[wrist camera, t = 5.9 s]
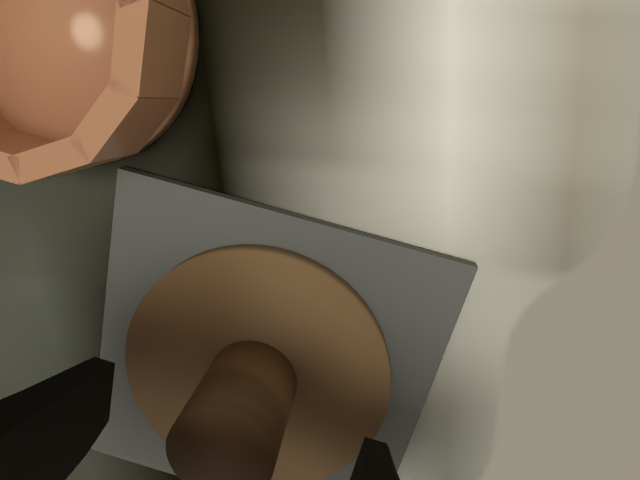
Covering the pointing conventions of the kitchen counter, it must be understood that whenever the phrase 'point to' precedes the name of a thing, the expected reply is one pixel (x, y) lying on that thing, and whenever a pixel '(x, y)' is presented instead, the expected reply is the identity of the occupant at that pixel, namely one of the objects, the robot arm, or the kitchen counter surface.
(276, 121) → the kitchen counter surface
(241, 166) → the kitchen counter surface
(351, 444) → the lid
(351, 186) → the kitchen counter surface
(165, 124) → the bowl
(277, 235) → the mat
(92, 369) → the robot arm
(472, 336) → the kitchen counter surface
